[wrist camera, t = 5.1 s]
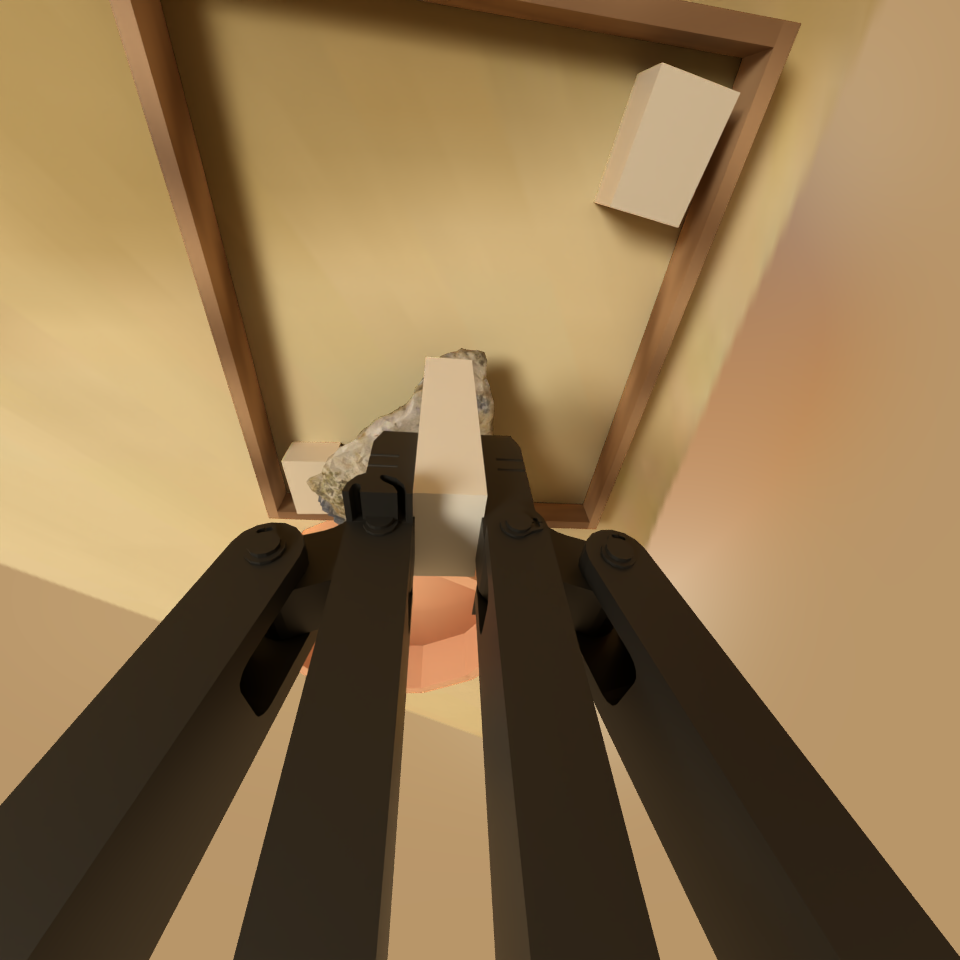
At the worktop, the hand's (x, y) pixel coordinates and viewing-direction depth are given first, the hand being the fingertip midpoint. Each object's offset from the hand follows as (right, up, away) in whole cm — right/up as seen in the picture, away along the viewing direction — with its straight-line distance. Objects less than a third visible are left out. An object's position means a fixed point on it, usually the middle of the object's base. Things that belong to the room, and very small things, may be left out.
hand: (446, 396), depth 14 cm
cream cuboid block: (-9, -2, +11) cm, 15 cm away
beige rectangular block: (+8, +10, +3) cm, 13 cm away
